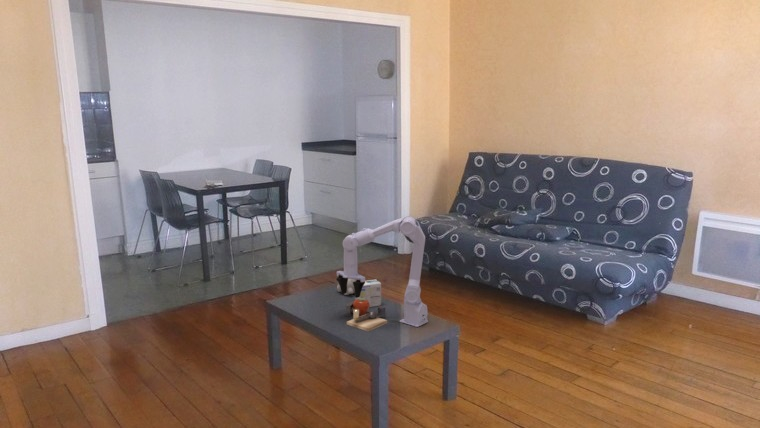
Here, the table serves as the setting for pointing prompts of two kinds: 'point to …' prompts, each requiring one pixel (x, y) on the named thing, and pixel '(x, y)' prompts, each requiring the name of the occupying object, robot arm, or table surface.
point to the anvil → (349, 309)
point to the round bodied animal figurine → (348, 287)
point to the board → (367, 323)
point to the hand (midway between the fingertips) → (350, 295)
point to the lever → (368, 314)
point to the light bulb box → (372, 292)
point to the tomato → (361, 305)
